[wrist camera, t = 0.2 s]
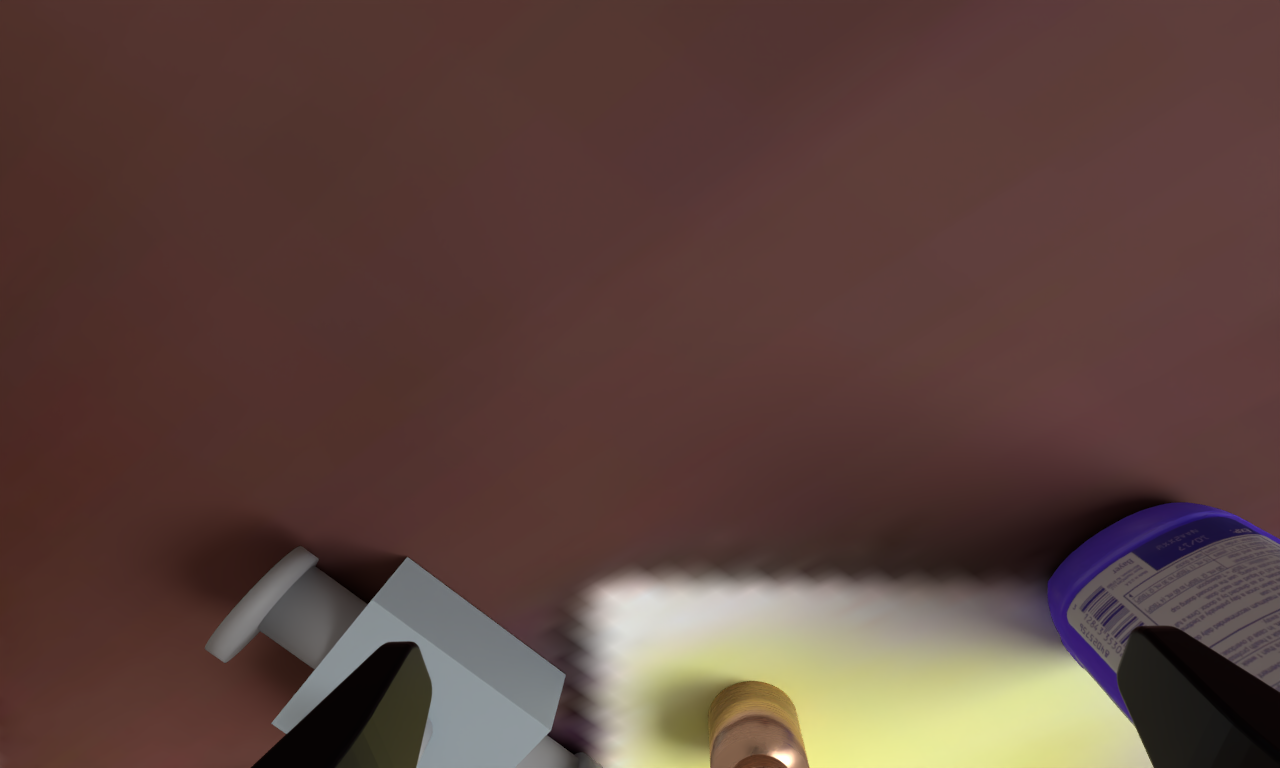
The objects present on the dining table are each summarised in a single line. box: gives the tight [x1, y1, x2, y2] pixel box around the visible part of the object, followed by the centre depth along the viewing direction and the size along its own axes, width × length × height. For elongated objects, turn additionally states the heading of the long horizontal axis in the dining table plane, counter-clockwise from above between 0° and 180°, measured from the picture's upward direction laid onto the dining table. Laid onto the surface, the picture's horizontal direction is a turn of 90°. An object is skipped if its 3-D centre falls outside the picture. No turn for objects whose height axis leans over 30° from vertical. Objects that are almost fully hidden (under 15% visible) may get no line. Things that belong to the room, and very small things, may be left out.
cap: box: [708, 681, 809, 768], centre depth 25 cm, size 4×4×4 cm
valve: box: [205, 546, 603, 768], centre depth 24 cm, size 15×7×7 cm, turn 51°
